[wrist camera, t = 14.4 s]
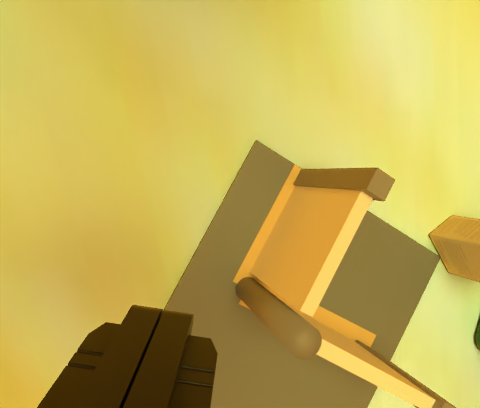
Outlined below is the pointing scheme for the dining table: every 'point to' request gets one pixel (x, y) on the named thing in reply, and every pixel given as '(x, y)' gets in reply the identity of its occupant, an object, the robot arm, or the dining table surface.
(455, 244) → the skincare box
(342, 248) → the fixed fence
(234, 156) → the dining table surface
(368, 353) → the hinged panel
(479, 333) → the pitcher
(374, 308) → the mat
